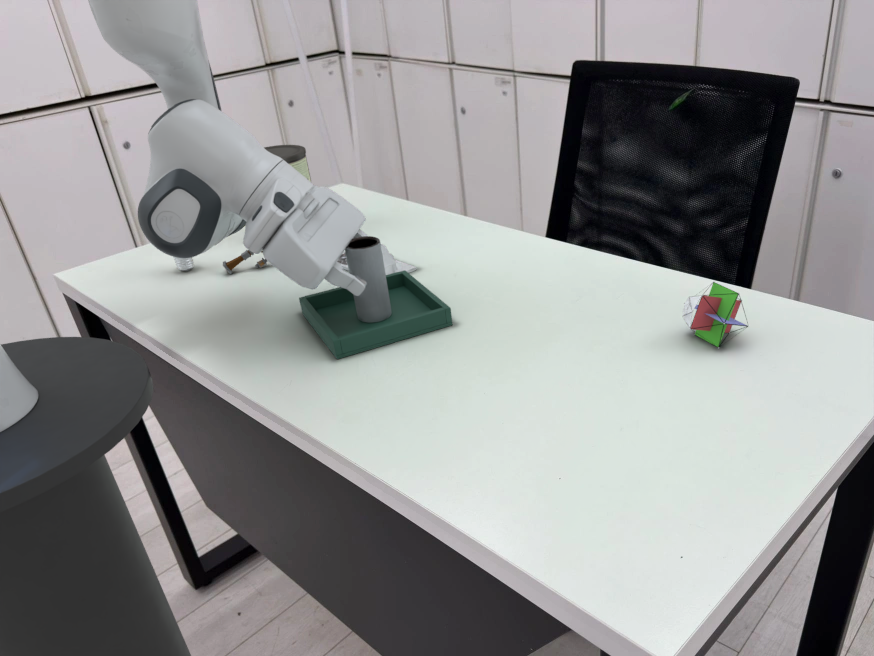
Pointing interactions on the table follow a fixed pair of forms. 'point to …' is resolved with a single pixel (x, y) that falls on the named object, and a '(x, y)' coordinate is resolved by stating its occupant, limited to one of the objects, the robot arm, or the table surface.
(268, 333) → the table surface
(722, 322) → the geometric puzzle
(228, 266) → the wooden post with brackets
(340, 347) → the tray
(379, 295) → the planter
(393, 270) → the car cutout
